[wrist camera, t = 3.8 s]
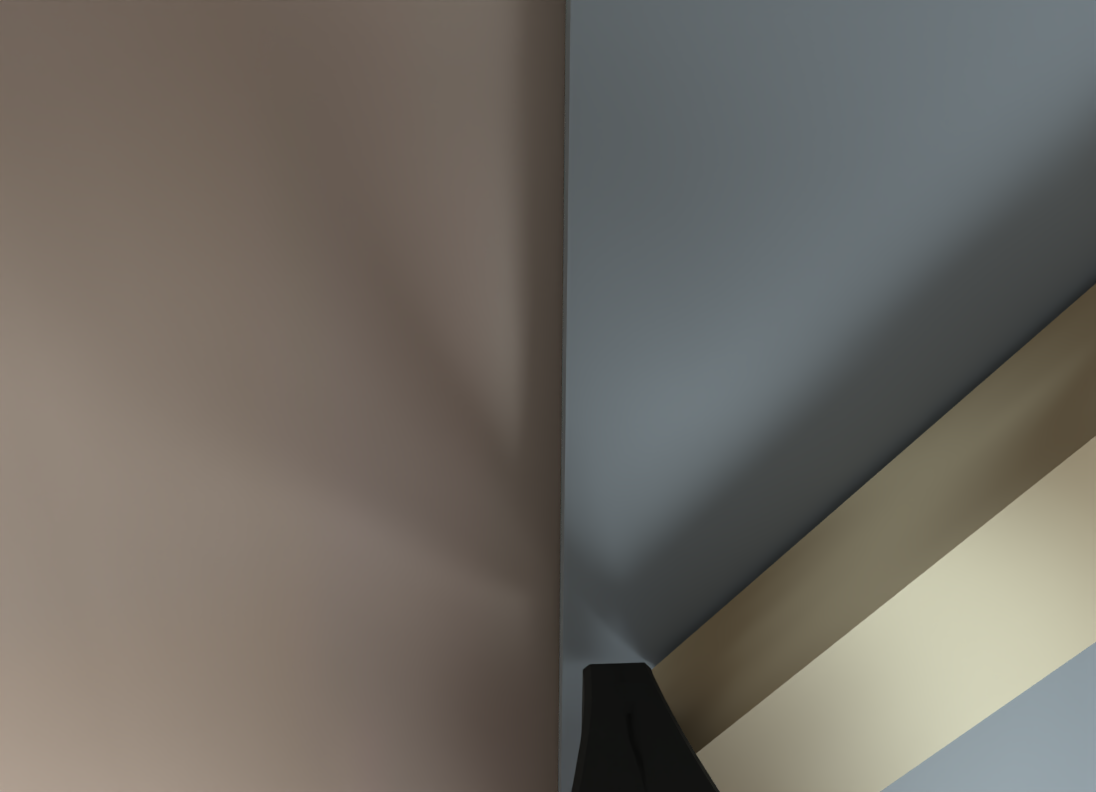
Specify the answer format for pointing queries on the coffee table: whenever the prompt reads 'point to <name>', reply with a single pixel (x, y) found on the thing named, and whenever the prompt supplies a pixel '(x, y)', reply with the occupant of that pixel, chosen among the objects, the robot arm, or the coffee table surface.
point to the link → (912, 592)
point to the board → (803, 300)
